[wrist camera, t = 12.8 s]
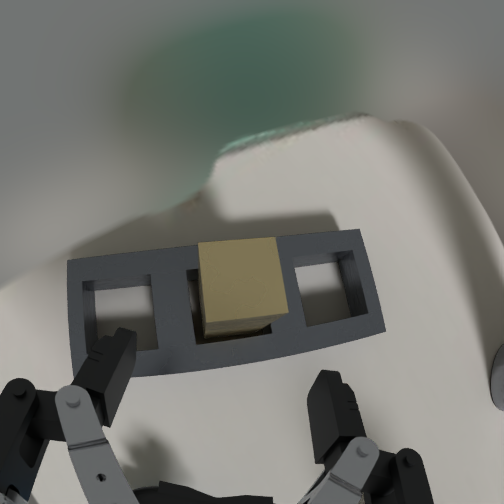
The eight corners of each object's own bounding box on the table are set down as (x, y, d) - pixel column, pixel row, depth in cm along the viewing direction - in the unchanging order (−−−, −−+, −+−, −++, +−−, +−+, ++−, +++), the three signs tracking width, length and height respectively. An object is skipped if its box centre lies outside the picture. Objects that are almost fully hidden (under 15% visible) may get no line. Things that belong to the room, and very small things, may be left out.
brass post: (247, 284, 25) (275, 236, 16) (254, 332, 24) (288, 312, 15) (198, 289, 25) (198, 242, 15) (204, 338, 23) (206, 322, 14)
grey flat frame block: (345, 241, 28) (359, 228, 26) (368, 335, 25) (386, 331, 23) (80, 271, 23) (67, 259, 21) (88, 378, 20) (74, 379, 18)
